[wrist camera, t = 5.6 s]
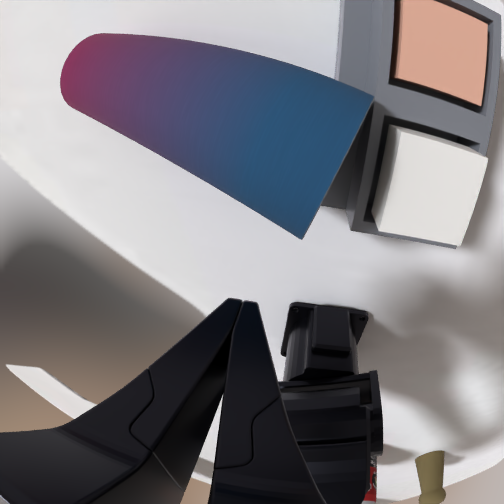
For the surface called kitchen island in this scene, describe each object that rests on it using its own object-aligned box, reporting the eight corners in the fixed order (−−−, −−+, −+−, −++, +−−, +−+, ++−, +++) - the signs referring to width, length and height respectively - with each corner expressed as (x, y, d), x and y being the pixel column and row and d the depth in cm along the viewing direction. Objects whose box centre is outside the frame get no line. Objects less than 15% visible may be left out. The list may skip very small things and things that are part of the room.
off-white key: (446, 226, 13) (460, 246, 12) (371, 211, 14) (378, 231, 12) (468, 147, 11) (488, 158, 9) (389, 123, 12) (401, 131, 10)
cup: (129, 5, 12) (384, 75, 10) (136, 88, 18) (336, 173, 16) (34, 52, 9) (346, 155, 7) (64, 144, 15) (287, 266, 13)
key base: (444, 213, 18) (474, 252, 13) (320, 190, 19) (322, 226, 14) (477, 32, 10) (521, 27, 6) (340, -11, 12) (351, -40, 7)
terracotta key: (462, 101, 11) (481, 106, 9) (386, 77, 12) (398, 77, 10) (469, 27, 9) (487, 24, 7) (392, 0, 9) (403, -10, 8)
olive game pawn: (409, 461, 41) (410, 510, 32) (433, 449, 38) (437, 501, 29) (426, 462, 42) (428, 508, 32) (449, 451, 38) (454, 499, 29)
